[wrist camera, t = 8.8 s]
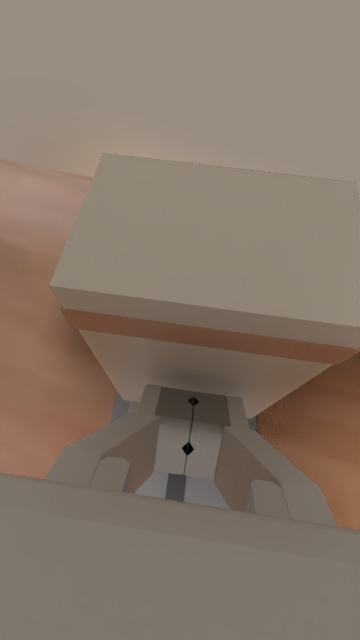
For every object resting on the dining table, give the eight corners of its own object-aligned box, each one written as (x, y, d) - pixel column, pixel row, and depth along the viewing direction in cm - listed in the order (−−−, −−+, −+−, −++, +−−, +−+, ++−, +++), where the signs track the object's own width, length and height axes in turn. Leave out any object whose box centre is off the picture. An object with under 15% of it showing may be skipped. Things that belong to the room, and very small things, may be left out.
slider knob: (244, 439, 14) (395, 372, 5) (122, 421, 14) (31, 321, 5) (247, 340, 16) (353, 162, 7) (143, 326, 16) (108, 134, 7)
